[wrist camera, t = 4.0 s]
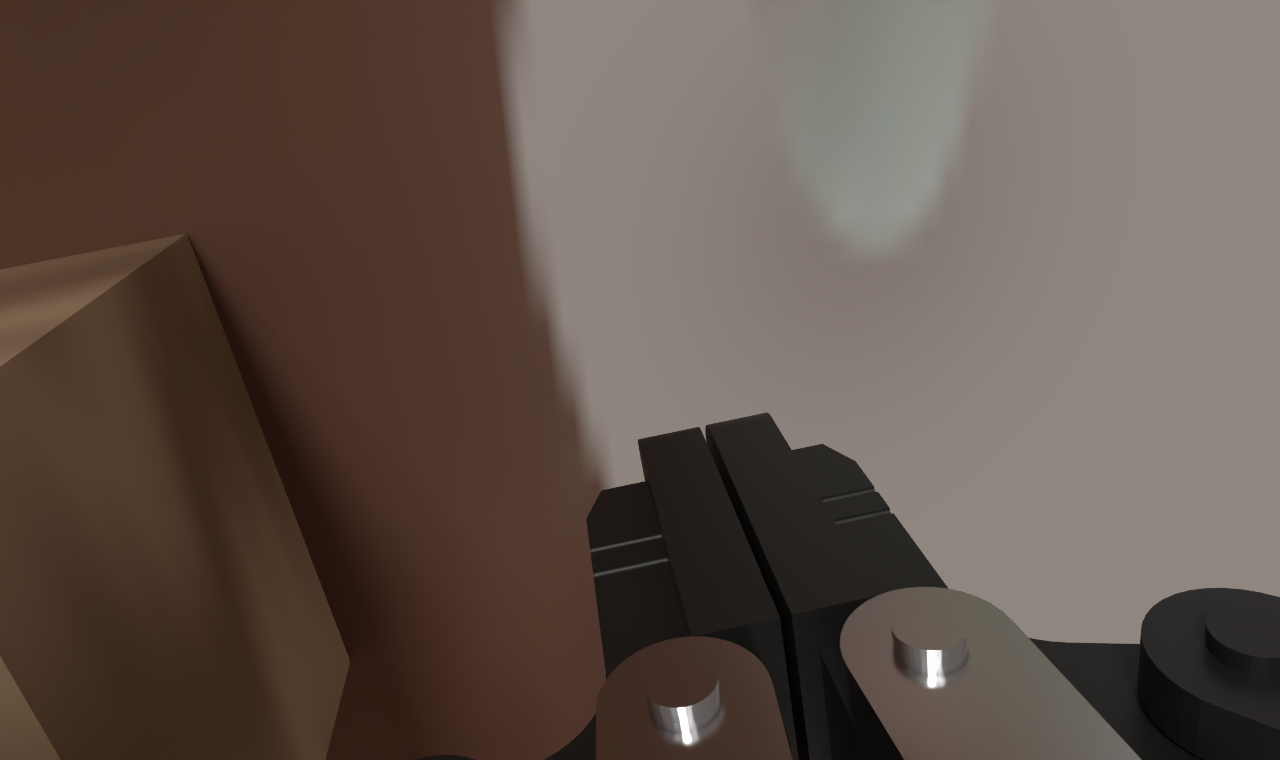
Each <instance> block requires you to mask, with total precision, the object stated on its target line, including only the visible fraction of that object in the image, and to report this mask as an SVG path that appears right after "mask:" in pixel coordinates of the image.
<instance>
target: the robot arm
mask: <svg viewBox="0 0 1280 760" xmlns="http://www.w3.org/2000/svg"><path fill="white" fill-rule="evenodd" d="M706 442H707V443H706ZM638 445H639V450H640V456H641V462H642V467H643V472H644V477H645V482H640V483H635V484H630V485H626V486H621V487H616V488H611V489H607V490H602V491H601V493H600V494H599V496H598V498H597V500H596V502H595V504H594V506H593V507H592V509H591V511H590V513H589V515H588V517H587V527H588V535H589V543H590V550H591V559H592V567H593V573H594V583H595V591H596V598H597V606H598V614H599V622H600V630H601V638H602V646H603V654H604V662H605V669H606V681H605V683H604V684H603V686H602V688H601V690H600V693H599V696H598V699H597V706H596V713H595V715H594V717H593V719H592V720H591V721H590V722H589V724H588V725H587V726H586V727H585V729H584V730H583V731H582V732H581V733H580V734H579V735H578V736H577V737H576V738H575V739H574V740H573V741H571V742H570V743H569V744H568V745H566V746H565V747H564V748H562V749H561V750H560V751H558V752H557V753H555V754H553V755H552V756H550V757H548V758H546V759H545V760H1280V597H1276V596H1272V595H1268V594H1264V593H1260V592H1254V591H1248V590H1242V589H1229V588H1204V589H1197V590H1189V591H1185V592H1181V593H1178V594H1174V595H1172V596H1170V597H1168V598H1165V599H1163V600H1161V601H1160V602H1159V603H1157V604H1156V605H1154V606H1153V607H1152V608H1151V609H1150V611H1149V612H1148V613H1147V614H1146V616H1145V618H1144V620H1143V622H1142V629H1141V640H1140V644H1106V643H1064V642H1050V641H1043V640H1037V639H1031V638H1028V637H1027V636H1026V635H1025V634H1024V632H1023V631H1022V630H1021V629H1020V628H1019V627H1018V626H1017V625H1016V624H1015V623H1014V622H1013V621H1012V620H1011V619H1010V618H1009V617H1008V616H1007V615H1006V614H1005V613H1004V612H1003V611H1001V610H1000V609H998V608H997V607H995V606H994V605H992V604H991V603H989V602H987V601H985V600H983V599H981V598H978V597H976V596H973V595H970V594H967V593H965V592H961V591H956V590H952V589H948V587H947V586H946V585H945V583H944V582H943V581H942V579H941V578H940V576H939V575H938V574H937V572H936V571H935V570H934V568H933V567H932V565H931V564H930V563H929V561H928V560H927V559H926V558H925V556H924V554H923V553H922V552H921V551H920V549H919V548H918V547H917V545H916V544H915V542H914V541H913V539H912V538H911V537H910V535H909V534H908V533H907V531H906V530H905V528H904V527H903V526H902V524H901V523H900V522H899V520H898V519H897V518H896V516H895V515H894V514H891V512H890V508H889V506H888V505H887V504H886V502H885V501H884V500H883V498H882V497H881V496H880V494H879V493H878V492H875V490H874V486H873V485H872V483H871V482H870V480H869V479H868V478H867V476H866V475H865V474H864V473H863V471H862V469H861V468H860V467H859V465H858V464H857V463H856V461H854V460H852V459H850V458H848V457H846V456H844V455H842V454H841V453H839V452H837V451H835V450H833V449H831V448H829V447H827V446H825V445H823V444H819V445H815V446H810V447H805V448H800V449H796V450H791V448H790V447H789V445H788V443H787V442H786V440H785V439H784V437H783V435H782V434H781V432H780V430H779V429H778V427H777V425H776V424H775V422H774V420H773V419H772V417H771V416H770V414H769V413H762V414H757V415H753V416H748V417H743V418H738V419H734V420H729V421H724V422H719V423H714V424H710V425H706V441H705V438H704V436H703V434H702V431H701V429H700V428H699V427H696V428H691V429H687V430H682V431H677V432H672V433H667V434H663V435H658V436H653V437H648V438H643V439H639V440H638ZM416 760H474V759H471V758H467V757H463V756H454V755H439V756H430V757H425V758H419V759H416Z"/></svg>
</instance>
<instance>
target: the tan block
mask: <svg viewBox="0 0 1280 760" xmlns="http://www.w3.org/2000/svg"><path fill="white" fill-rule="evenodd" d="M349 665H350V659H349V656H348V654H347V651H346V649H345V646H344V643H343V641H342V638H341V636H340V633H339V630H338V628H337V625H336V622H335V620H334V617H333V615H332V612H331V609H330V607H329V604H328V602H327V599H326V596H325V594H324V591H323V588H322V586H321V583H320V581H319V578H318V575H317V573H316V570H315V567H314V565H313V562H312V560H311V557H310V554H309V552H308V549H307V547H306V544H305V541H304V539H303V536H302V533H301V531H300V528H299V526H298V523H297V520H296V518H295V515H294V513H293V510H292V507H291V505H290V502H289V499H288V497H287V494H286V492H285V489H284V486H283V484H282V481H281V478H280V476H279V473H278V471H277V468H276V465H275V463H274V460H273V458H272V455H271V452H270V450H269V447H268V444H267V442H266V439H265V437H264V434H263V431H262V429H261V426H260V424H259V421H258V418H257V416H256V413H255V410H254V408H253V405H252V403H251V400H250V397H249V395H248V392H247V389H246V387H245V384H244V382H243V379H242V376H241V374H240V371H239V369H238V366H237V363H236V361H235V358H234V355H233V353H232V350H231V348H230V345H229V342H228V340H227V337H226V335H225V332H224V329H223V327H222V324H221V321H220V319H219V316H218V314H217V311H216V308H215V306H214V303H213V300H212V298H211V295H210V293H209V290H208V287H207V285H206V282H205V280H204V277H203V274H202V272H201V269H200V266H199V264H198V261H197V259H196V256H195V253H194V251H193V248H192V246H191V243H190V240H189V238H188V235H187V233H186V234H181V235H175V236H170V237H165V238H160V239H155V240H149V241H144V242H139V243H134V244H129V245H124V246H118V247H113V248H108V249H103V250H98V251H93V252H88V253H82V254H77V255H72V256H67V257H62V258H57V259H51V260H46V261H41V262H36V263H31V264H26V265H20V266H15V267H10V268H5V269H0V760H326V756H327V752H328V748H329V744H330V740H331V736H332V732H333V728H334V724H335V720H336V716H337V712H338V708H339V704H340V700H341V696H342V692H343V688H344V684H345V681H346V677H347V673H348V669H349Z"/></svg>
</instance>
